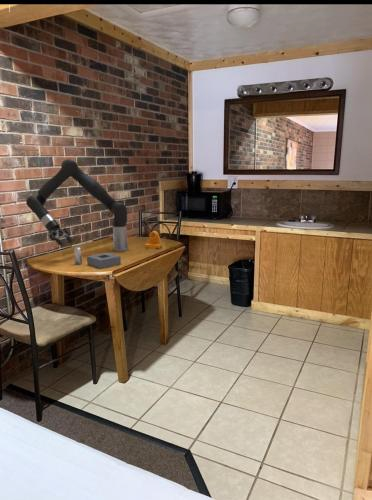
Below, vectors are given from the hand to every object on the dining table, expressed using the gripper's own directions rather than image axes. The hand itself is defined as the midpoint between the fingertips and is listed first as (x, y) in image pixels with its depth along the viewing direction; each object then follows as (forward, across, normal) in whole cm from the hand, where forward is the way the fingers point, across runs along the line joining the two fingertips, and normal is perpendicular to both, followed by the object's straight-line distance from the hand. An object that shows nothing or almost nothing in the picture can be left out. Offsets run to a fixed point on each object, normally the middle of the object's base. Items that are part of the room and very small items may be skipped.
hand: (66, 243), depth 220 cm
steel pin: (+14, 0, +3) cm, 15 cm away
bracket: (+28, +59, -11) cm, 66 cm away
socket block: (+25, +5, -8) cm, 27 cm away
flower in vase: (-1, +77, +18) cm, 79 cm away
